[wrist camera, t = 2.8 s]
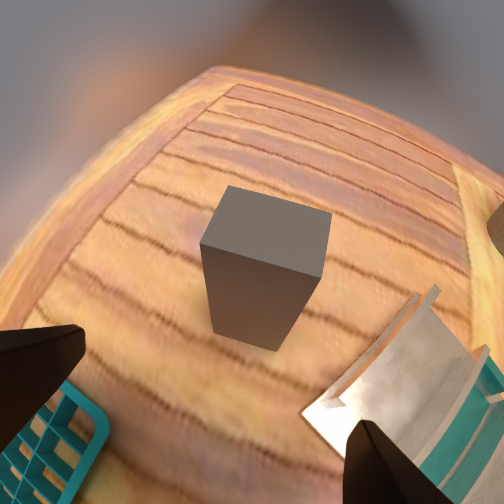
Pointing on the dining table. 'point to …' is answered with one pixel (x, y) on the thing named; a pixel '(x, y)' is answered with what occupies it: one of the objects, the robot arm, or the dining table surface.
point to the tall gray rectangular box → (261, 264)
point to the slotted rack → (424, 403)
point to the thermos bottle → (497, 228)
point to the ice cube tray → (45, 456)
